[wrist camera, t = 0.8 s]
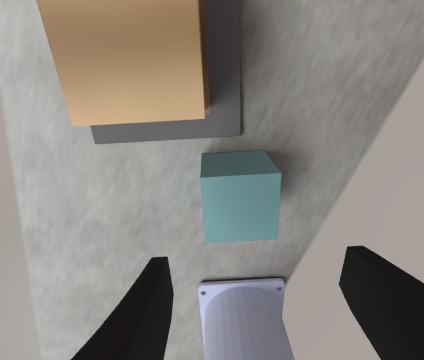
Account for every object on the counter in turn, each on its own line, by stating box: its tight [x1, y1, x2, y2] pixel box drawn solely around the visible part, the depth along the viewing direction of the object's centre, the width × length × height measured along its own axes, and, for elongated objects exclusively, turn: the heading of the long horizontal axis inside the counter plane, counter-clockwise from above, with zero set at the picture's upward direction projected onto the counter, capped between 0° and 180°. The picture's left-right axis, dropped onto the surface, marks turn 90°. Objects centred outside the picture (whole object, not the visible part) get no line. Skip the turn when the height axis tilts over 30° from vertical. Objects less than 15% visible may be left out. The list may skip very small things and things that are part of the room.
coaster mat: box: [90, 0, 240, 144], centre depth 14 cm, size 10×10×1 cm
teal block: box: [200, 150, 282, 243], centre depth 16 cm, size 4×4×4 cm
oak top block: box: [37, 0, 205, 126], centre depth 10 cm, size 6×6×3 cm
